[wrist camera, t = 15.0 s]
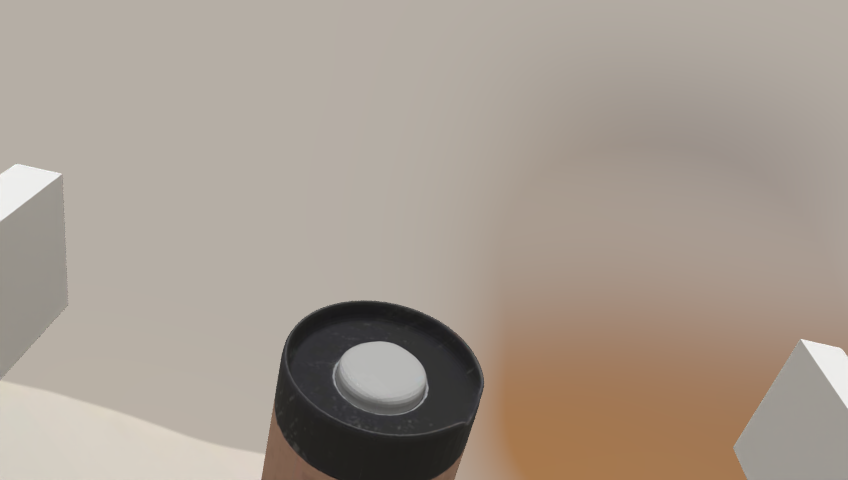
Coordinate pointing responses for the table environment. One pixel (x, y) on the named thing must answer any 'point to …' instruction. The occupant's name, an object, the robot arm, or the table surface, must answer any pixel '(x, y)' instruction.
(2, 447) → the table surface
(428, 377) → the travel mug
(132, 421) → the table surface
